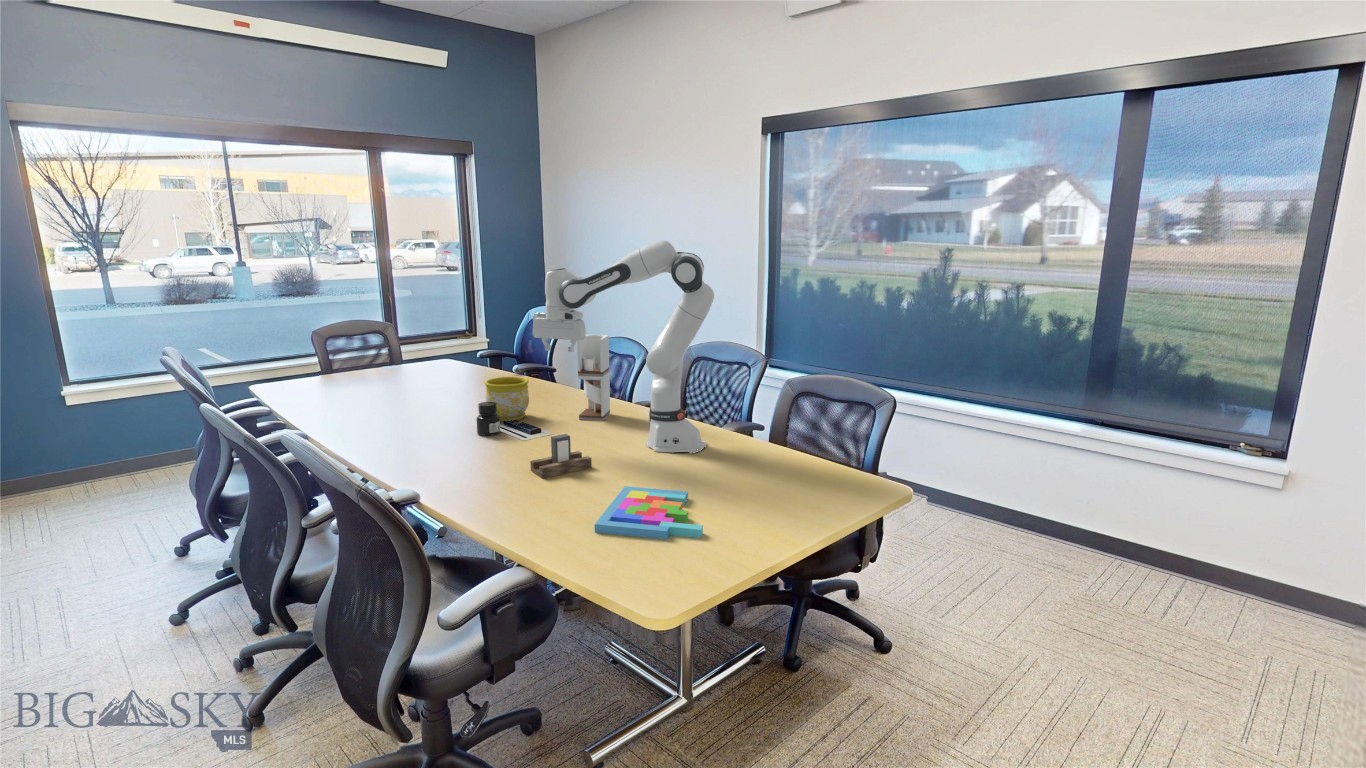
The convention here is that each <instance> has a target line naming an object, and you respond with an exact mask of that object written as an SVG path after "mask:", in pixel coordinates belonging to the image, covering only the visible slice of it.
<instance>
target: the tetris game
mask: <svg viewBox="0 0 1366 768" xmlns="http://www.w3.org/2000/svg"><path fill="white" fill-rule="evenodd" d="M687 498H688V499H689V492H688V491H684V490H673V489H663V488H661V489H660V488H652V487H651V488H650V487H637V486H636V487H635V486H624V487H623V488H622V489H621V490H620V492H619V493H618V494H617V495H616V497H615V498H614V499H613V500H612V501H611V503H610V505H609V506H608V507H607V508H606V509H605V510H604V512H603V513H602V514H601V515H600V517H599V518H598V519H597V520H596V522H595V523H594V533H597V534H598V533H599V534H610V535H618V536H629V537H637V538H639V537H640V538H648V539H649V538H650V539H658V540H659V539H660V540H668V539H669V536H675V537H676V536H677V537H688V538H696V539H701V538H702V535H703V533H704V531H703V530H704V527H703V526H704V525H702V524H693V523H687V522H688V520H689V511H688V510H684V509H683V506H682V505H684V504H685V505H686V503H687V501H688V499H687ZM686 500H687V501H686ZM685 502H686V503H685ZM685 505H684V506H685ZM687 519H688V520H687ZM674 521H676V522H674ZM684 522H686V523H684Z"/></svg>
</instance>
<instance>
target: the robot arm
mask: <svg viewBox="0 0 1366 768" xmlns="http://www.w3.org/2000/svg"><path fill="white" fill-rule="evenodd" d="M704 269H705V266H704V262H703V260H702V259H701V258H700V257H699V256H698V255H697V254H695V253H691V252H684V251H677V250H676V249H675V247H674V246H673V244H672V243H671V242H670V241H667V240H659V241H655V242H652V243H649V244H646V245H643V246H641V247H639V248H636V249H635V250H632V251H631V252H629V253H628V254H626V255H625V256H623V257H622V258H621V259H619V260H618V261H617V262H615V263H614V264H612V265H611V266H609V267H607V268H606V269H603V270H601V271H600V272H597V273H595V274H592V275H590V276H588V277H582V276H580V275H577V274H575V273H573V272H571V271H569V270H568V269H567V268H565V267H562V268H555V269H551V270H549V271H547V273H546V275H545V280H544V294H545V299H546V300H545V312H536V313H535V314H533V316H532V322H533V325H532V337H534V338H535V339H537V338H538V339H541V342H542V343H543V345H544V350H545V351H548V352H549V351H551V349H552V348H551V347H552V345H550V344H549V343H548V341H549V339H550V340H564V341H565V340H568V341H569V340H570V346H568V347H567V352H568V353H573V352H574V351H575V346H576V344H577V340H583V339H584V338H585V337H586V335H587V334H586V326H585V321H584V320H583V317H584V313H583V312H581V311H579V310H576V309H579V308H581V307H582V306H585V305H587V304H590V303H591V302H592V301H593V300H594V299H595V298H596V295H597V294H599V293H601V292H603V291H606V290H608V289H610V288H613V287H616V286H619V285H627V284H633V283H634V284H635V283H638V282H643V281H646V280H649V279H651V278H654V277H655V276H658V275H660V274H663V273H669V274H670V275H671V278H672V280H673V282H675V284H676V286H678V287H679V288H680V289H681V290H682V291H683V293H682V296H681V298H680V299H679V301H678V303H677V305H676V306H675V309H674V311H673V312H672V314H671V316H670V317H669V319H668V321H667V322H666V325H664V328H663V329H662V331H661V332H660V333H659V334H658V337H657V338H656V339H655V342H654V343H653V344H652V346H651V348H650V349H649V351H648V353H647V355H646V357H645V358H646V359H645V364H646V367H647V369H648V371H649V372H651V373H652V374H653V375H652V379H651V380H652V382H651V386H650V407H649V413H648V417H649V422H650V423H649V431H648V436H647V437H648V438H647V441H646V446H647V447H648V448H650V449H653V451H654V452H657V453H674V452H697V451H700V450H701V449H703V448H704V447H705V446H706V447H707V441H706V440H704V439H703V440H702V439H701V433H700V430H699V428H698V427H697V426H696V425H694V424H693V423H692V422H691V421H690V420H688V419H687V418H686V413H687V409H685V410H684V409H683V408H682V407H681V386H682V379H683V378H682V377H683V371H684V370H683V369H684V359H685V353H686V350H687V349H688V348H689V346H690V344H691V343H692V341H693V340H694V339H695V337H696V335H697V333H698V332H699V330H700V328H701V326H702V324H703V323H704V321H705V319H706V318H707V316H708V314H709V312H710V310H711V307H712V305H713V302H714V299H715V291H714V290H713V289H712V287H711V286H710V285H708V284H707V283H705V281H704V280H703V275H704ZM706 447H705V448H706ZM697 449H698V450H697ZM700 452H701V451H700Z"/></svg>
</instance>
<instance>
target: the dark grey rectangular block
mask: <svg viewBox="0 0 1366 768" xmlns="http://www.w3.org/2000/svg"><path fill="white" fill-rule="evenodd" d="M550 448H551V451H550V453H551V457H552V464H553V463H558V462H562V461H567V460H571V452H572V451H571V450H572V449H571V436H570V435H569V434H567V433H564V434H558V435H553V436H550Z"/></svg>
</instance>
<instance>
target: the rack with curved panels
mask: <svg viewBox="0 0 1366 768" xmlns="http://www.w3.org/2000/svg"><path fill="white" fill-rule="evenodd" d="M609 337H610V336H609V334H608V335H605V334H600V335H599V334H586V337H585V338H584V339H583V340H576V344H577V345H576V348H577V350H576V351H577V380H583V392H584V395H585V397H586V398H587V400H588V404H587V405H588V408H585V409H584V410H583V411H582V412H581V413H580V414H579V415H578V421H597V422H598V421H599V422H604V421H606V419H607V418H608V417H609V416H610V415H611V400H610V398H611V395H610V393H611V390H610V388H611V387H610V386H611V385H610V338H609Z"/></svg>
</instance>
